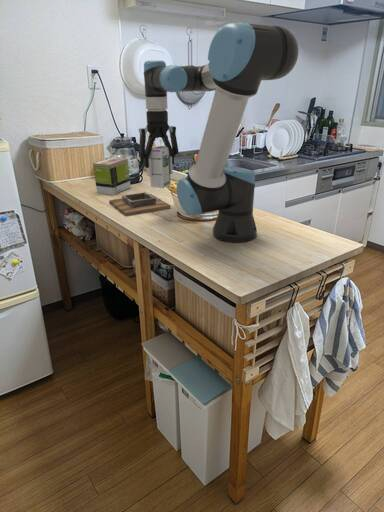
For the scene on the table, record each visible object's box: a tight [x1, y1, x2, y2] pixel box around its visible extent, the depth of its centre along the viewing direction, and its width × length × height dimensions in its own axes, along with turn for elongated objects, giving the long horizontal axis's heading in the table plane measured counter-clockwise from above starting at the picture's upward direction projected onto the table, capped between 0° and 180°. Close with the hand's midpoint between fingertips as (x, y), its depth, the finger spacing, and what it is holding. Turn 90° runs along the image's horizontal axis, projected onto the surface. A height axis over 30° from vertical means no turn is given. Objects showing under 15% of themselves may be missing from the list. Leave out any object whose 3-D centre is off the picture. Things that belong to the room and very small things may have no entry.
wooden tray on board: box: [108, 191, 171, 217], centre depth 161 cm, size 20×20×4 cm
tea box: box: [92, 157, 132, 196], centre depth 182 cm, size 15×10×15 cm, turn 154°
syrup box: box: [149, 145, 172, 189], centre depth 140 cm, size 6×6×14 cm
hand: (160, 174), depth 141 cm, fingers closed on syrup box, 8 cm apart
